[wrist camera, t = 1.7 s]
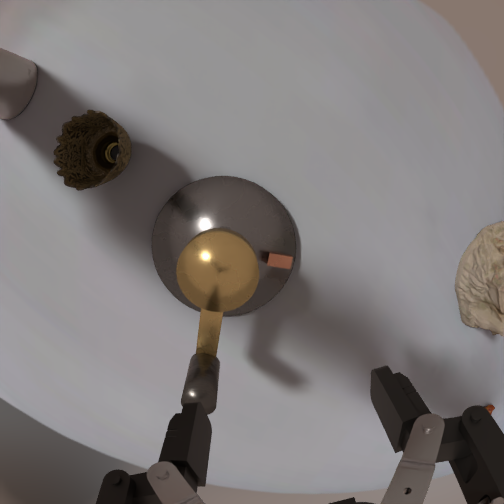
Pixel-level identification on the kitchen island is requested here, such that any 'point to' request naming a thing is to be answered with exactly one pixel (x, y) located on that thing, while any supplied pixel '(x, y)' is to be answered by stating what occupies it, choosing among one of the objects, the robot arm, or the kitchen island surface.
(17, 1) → the kitchen island surface
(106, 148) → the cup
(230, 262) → the gold lever handle
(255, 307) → the post base
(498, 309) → the ceramic cottage
